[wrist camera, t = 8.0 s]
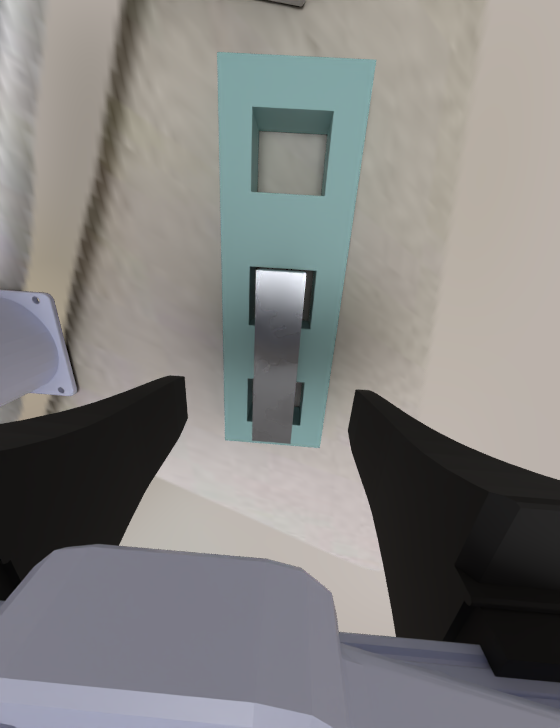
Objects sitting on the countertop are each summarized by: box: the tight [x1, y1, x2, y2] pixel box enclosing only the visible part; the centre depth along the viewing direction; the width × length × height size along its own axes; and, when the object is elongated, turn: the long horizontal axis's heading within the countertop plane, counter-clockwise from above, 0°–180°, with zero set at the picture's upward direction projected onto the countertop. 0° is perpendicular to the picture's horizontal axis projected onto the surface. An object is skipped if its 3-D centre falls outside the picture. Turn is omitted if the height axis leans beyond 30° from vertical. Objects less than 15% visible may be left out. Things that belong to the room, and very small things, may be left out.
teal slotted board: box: [217, 52, 376, 448], centre depth 17 cm, size 21×7×2 cm, turn 177°
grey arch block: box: [252, 269, 306, 444], centre depth 17 cm, size 2×10×5 cm, turn 176°
